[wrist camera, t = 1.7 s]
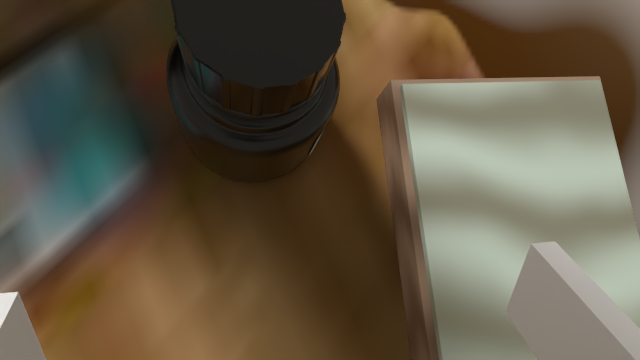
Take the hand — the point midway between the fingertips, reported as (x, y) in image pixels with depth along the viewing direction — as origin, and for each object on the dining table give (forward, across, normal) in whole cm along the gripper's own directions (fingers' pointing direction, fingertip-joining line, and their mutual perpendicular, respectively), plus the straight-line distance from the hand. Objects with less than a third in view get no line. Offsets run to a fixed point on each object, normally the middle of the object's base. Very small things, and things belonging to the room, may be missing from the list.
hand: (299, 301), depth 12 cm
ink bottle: (+19, 0, -3) cm, 19 cm away
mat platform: (+13, +16, -9) cm, 22 cm away
